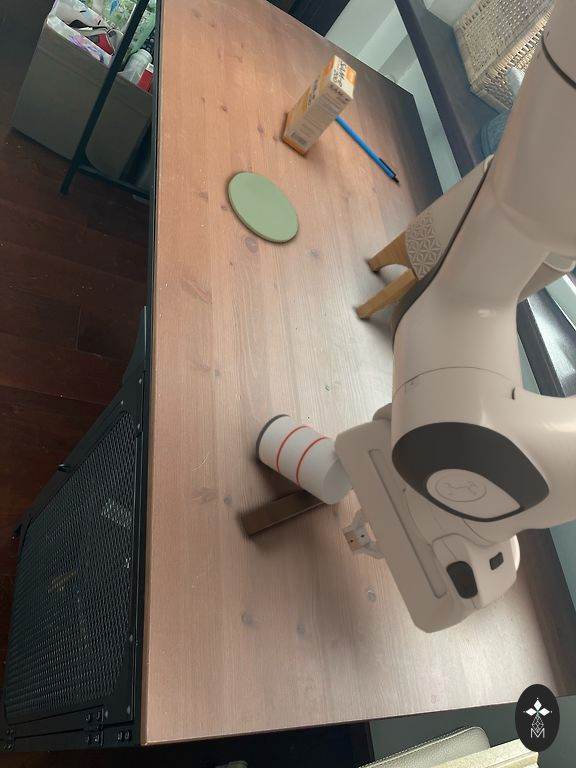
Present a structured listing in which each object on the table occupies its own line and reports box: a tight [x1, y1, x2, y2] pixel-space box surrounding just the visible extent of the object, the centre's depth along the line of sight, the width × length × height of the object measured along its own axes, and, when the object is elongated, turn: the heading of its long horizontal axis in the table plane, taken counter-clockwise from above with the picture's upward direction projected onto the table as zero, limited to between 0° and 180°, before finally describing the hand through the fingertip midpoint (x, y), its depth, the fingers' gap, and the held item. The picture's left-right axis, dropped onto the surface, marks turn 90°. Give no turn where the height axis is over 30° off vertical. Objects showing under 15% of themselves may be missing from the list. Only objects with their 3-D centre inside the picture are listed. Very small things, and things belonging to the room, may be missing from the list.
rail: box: [240, 488, 354, 536], centre depth 68 cm, size 14×2×4 cm, turn 120°
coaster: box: [227, 171, 299, 243], centre depth 91 cm, size 12×12×1 cm
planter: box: [356, 153, 576, 319], centre depth 91 cm, size 19×19×26 cm
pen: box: [335, 115, 400, 184], centre depth 118 cm, size 1×19×1 cm, turn 64°
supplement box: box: [281, 54, 357, 156], centre depth 101 cm, size 8×5×13 cm, turn 171°
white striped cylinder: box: [255, 413, 352, 505], centre depth 67 cm, size 6×11×11 cm, turn 30°
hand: (351, 540), depth 64 cm, fingers closed
